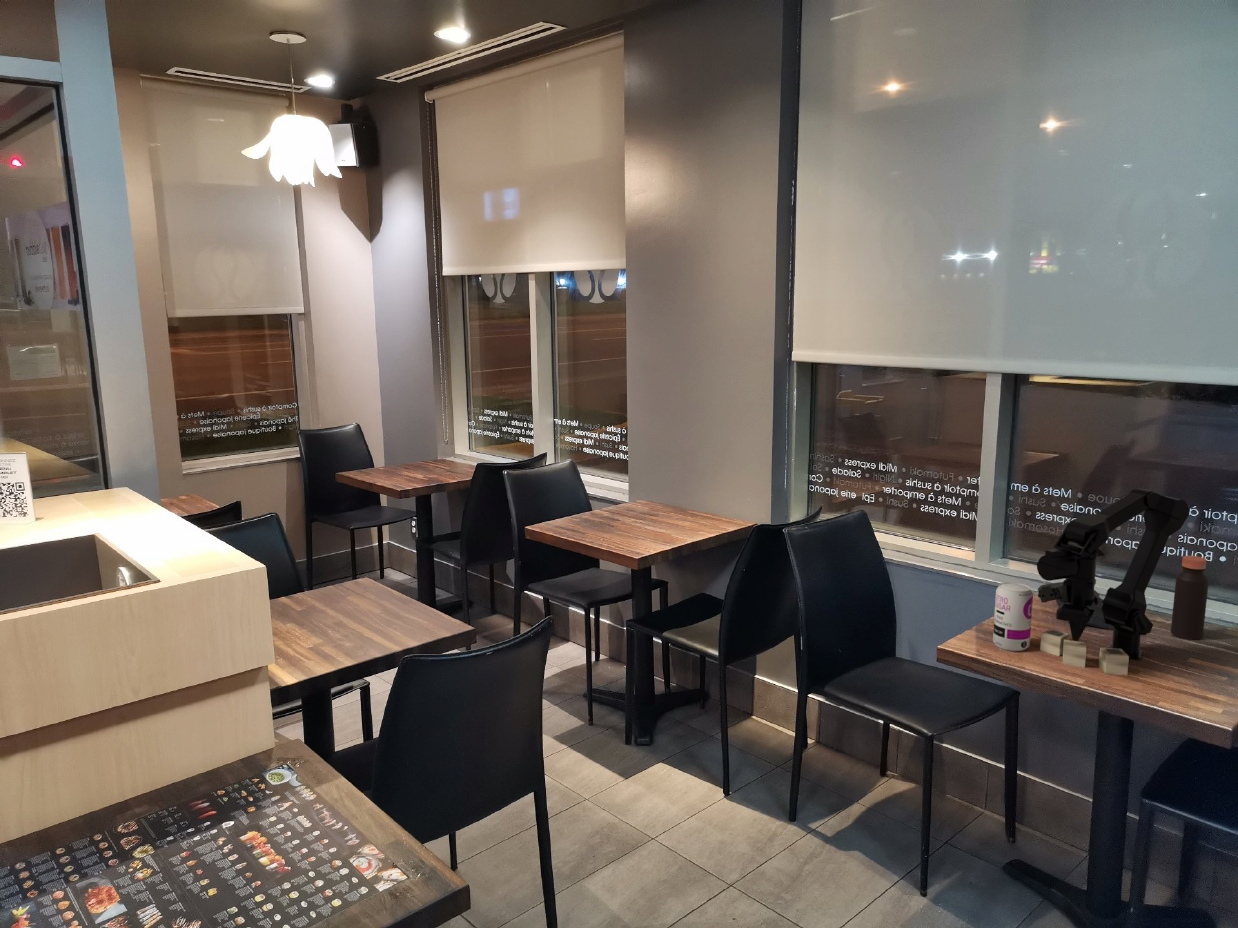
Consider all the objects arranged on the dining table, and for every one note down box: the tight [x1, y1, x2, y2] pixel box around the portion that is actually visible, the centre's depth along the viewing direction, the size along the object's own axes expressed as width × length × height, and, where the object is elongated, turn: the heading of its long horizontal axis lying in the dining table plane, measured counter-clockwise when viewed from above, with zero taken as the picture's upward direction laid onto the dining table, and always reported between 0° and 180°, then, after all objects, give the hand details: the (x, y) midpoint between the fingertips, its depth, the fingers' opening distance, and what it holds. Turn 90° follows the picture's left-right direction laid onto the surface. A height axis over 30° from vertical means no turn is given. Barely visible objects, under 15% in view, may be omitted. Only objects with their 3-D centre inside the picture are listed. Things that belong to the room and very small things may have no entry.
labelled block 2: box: [1098, 647, 1130, 676], centre depth 195 cm, size 4×4×5 cm
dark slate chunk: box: [1055, 596, 1114, 631], centre depth 231 cm, size 15×22×5 cm
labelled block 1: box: [1039, 628, 1070, 657], centre depth 207 cm, size 4×4×5 cm
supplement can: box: [992, 582, 1034, 652], centre depth 210 cm, size 8×8×15 cm
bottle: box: [1170, 555, 1210, 640], centre depth 215 cm, size 7×7×20 cm
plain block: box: [1062, 639, 1087, 669], centre depth 200 cm, size 4×4×4 cm
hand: (1075, 640), depth 200 cm, fingers closed
